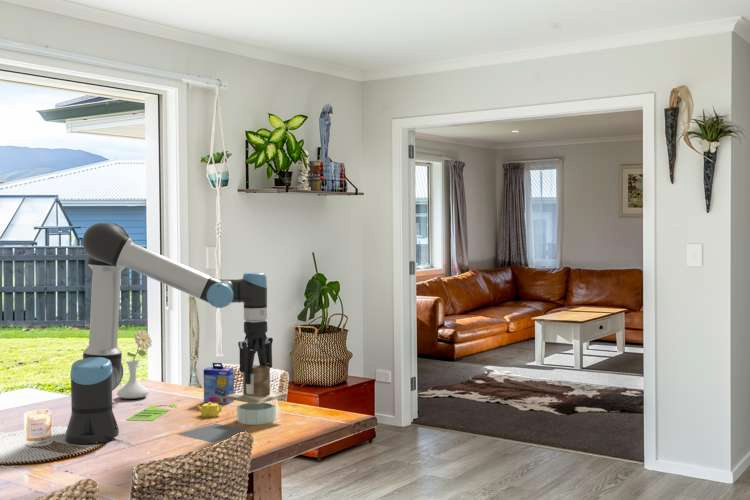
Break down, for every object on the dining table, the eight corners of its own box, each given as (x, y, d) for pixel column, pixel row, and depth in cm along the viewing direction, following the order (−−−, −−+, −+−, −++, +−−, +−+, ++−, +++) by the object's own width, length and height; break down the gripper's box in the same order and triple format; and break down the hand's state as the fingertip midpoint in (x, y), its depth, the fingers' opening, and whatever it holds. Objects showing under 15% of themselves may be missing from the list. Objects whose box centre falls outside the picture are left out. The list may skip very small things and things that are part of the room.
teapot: (194, 420, 270) (194, 404, 270) (199, 416, 276) (199, 400, 275) (218, 420, 269) (218, 404, 269) (223, 416, 275) (222, 401, 275)
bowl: (256, 428, 258) (256, 412, 258) (229, 423, 265) (229, 407, 265) (282, 421, 268) (282, 405, 267) (256, 416, 275) (256, 400, 275)
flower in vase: (125, 402, 297) (124, 333, 296) (111, 397, 305) (110, 330, 304) (158, 397, 306) (157, 330, 305) (144, 392, 314) (143, 327, 313)
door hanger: (152, 422, 269) (180, 405, 293) (152, 420, 269) (180, 403, 293) (125, 421, 270) (155, 404, 295) (125, 419, 270) (155, 403, 295)
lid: (256, 404, 256) (256, 372, 256) (225, 398, 265) (225, 367, 264) (287, 396, 267) (287, 365, 267) (256, 391, 276) (256, 361, 275)
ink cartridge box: (202, 403, 295) (202, 362, 295) (208, 399, 301) (208, 360, 300) (229, 404, 294) (228, 363, 293) (234, 400, 299) (234, 361, 299)
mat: (212, 444, 239) (212, 442, 239) (176, 436, 249) (176, 433, 249) (251, 433, 252) (251, 430, 252) (216, 425, 262) (216, 423, 262)
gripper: (243, 324, 256) (244, 398, 257) (283, 318, 270) (284, 389, 271) (226, 322, 260) (227, 395, 261) (266, 317, 275) (267, 386, 275)
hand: (256, 392), depth 266 cm, fingers closed on lid, 5 cm apart
